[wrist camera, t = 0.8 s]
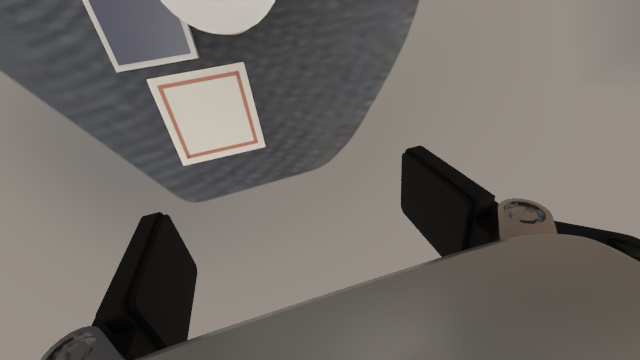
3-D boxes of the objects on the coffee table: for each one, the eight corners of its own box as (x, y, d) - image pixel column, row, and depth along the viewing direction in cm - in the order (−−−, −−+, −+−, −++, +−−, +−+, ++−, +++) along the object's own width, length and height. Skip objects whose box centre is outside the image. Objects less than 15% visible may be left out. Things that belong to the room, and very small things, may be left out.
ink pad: (72, -34, 31) (62, -38, 29) (166, -45, 32) (162, -49, 31) (121, 70, 36) (115, 72, 35) (199, 57, 38) (198, 58, 36)
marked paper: (146, 79, 37) (145, 79, 37) (243, 61, 39) (243, 61, 39) (183, 165, 44) (183, 166, 43) (265, 146, 46) (265, 147, 45)
